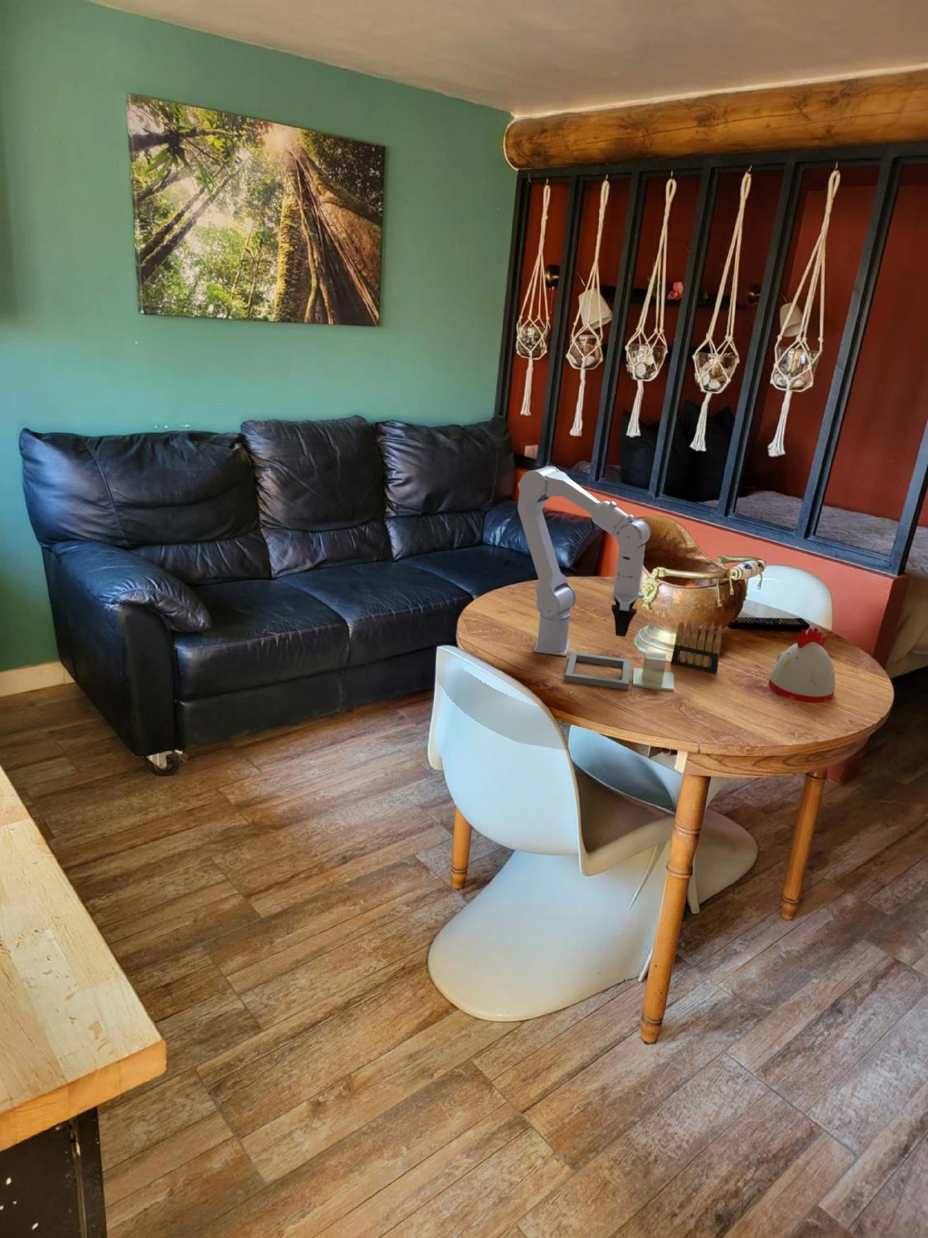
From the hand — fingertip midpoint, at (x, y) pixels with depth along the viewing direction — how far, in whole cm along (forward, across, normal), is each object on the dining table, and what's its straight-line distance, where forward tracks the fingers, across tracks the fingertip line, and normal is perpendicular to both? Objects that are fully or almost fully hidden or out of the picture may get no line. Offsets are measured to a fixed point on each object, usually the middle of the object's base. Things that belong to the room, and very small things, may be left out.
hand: (621, 629), depth 192 cm
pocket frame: (+9, -5, +4) cm, 11 cm away
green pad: (+9, -5, -8) cm, 14 cm away
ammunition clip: (+10, +6, -18) cm, 21 cm away
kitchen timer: (+10, +2, -42) cm, 43 cm away
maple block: (+9, -5, -8) cm, 13 cm away
